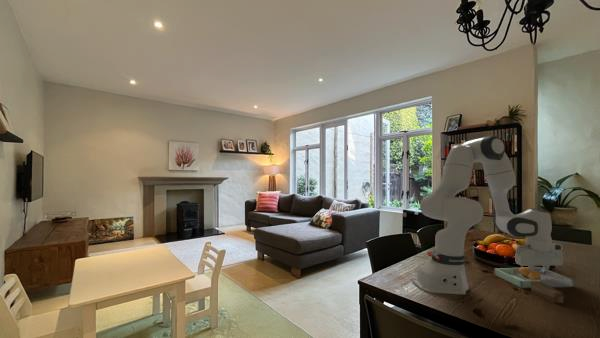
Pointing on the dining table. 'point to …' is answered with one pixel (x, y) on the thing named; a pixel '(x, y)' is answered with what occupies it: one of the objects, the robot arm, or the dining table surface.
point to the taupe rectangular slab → (547, 292)
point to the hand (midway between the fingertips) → (538, 274)
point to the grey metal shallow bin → (547, 278)
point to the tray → (512, 277)
